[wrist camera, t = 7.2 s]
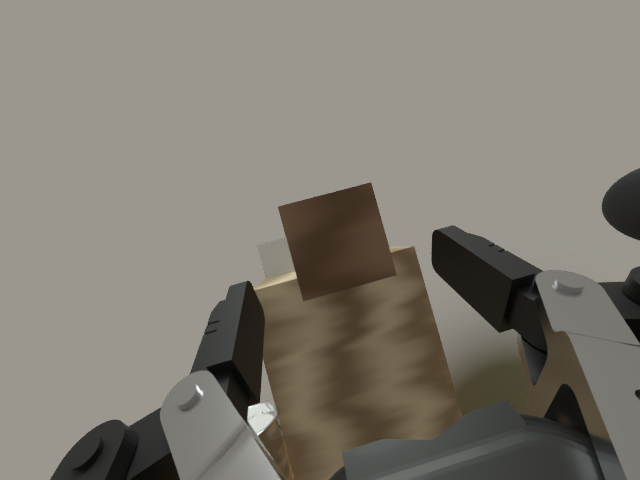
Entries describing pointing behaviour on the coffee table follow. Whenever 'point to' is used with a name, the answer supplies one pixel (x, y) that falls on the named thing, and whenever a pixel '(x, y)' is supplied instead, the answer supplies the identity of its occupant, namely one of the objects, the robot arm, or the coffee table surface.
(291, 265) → the grey cube
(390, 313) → the oak pedestal
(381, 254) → the brown wooden bar
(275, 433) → the beer glass
